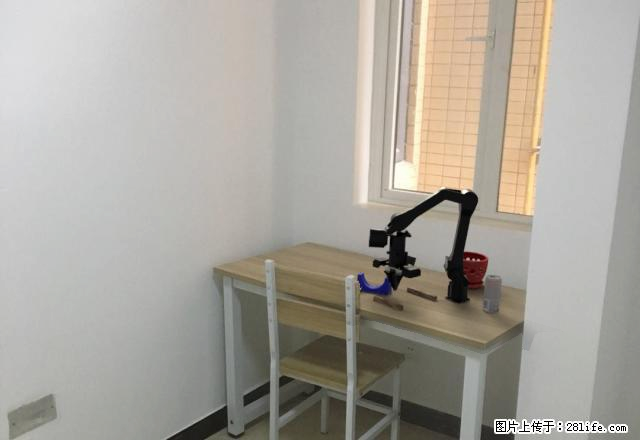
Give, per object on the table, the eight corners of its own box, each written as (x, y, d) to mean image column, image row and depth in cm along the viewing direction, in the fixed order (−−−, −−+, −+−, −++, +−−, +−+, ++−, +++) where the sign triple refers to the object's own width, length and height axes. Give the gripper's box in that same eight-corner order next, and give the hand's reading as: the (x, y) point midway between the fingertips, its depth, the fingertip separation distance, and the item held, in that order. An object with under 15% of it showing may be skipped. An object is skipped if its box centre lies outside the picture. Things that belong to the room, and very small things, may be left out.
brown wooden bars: (436, 299, 212) (437, 295, 212) (400, 310, 200) (400, 306, 200) (409, 290, 222) (410, 286, 222) (373, 300, 210) (373, 296, 210)
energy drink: (495, 308, 205) (499, 274, 203) (501, 313, 200) (504, 279, 198) (480, 308, 205) (483, 274, 203) (485, 313, 200) (488, 279, 197)
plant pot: (447, 287, 227) (449, 256, 224) (455, 278, 238) (457, 249, 236) (482, 292, 221) (484, 261, 219) (488, 283, 233) (491, 253, 230)
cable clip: (391, 291, 220) (392, 275, 218) (387, 295, 216) (388, 279, 214) (361, 286, 224) (361, 271, 223) (356, 289, 220) (357, 274, 219)
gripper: (432, 250, 209) (429, 293, 212) (393, 240, 223) (391, 280, 226) (411, 255, 202) (408, 299, 205) (372, 244, 216) (370, 285, 219)
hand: (394, 290), depth 214 cm, fingers closed
